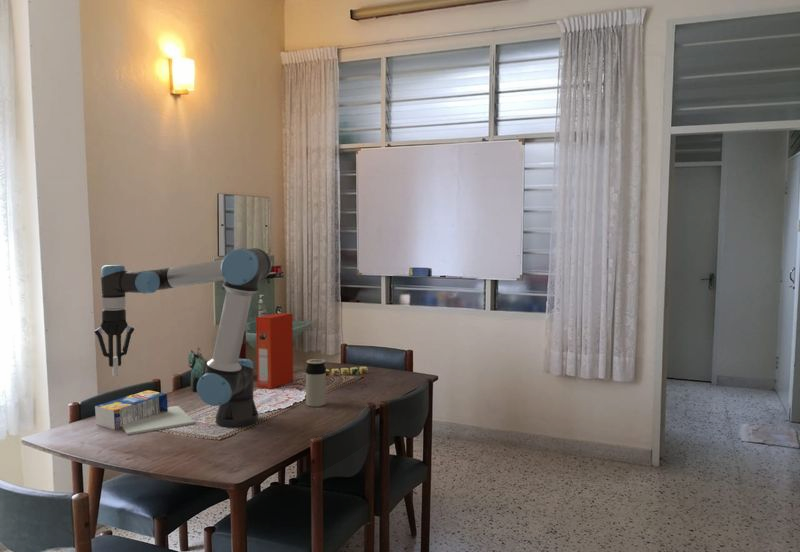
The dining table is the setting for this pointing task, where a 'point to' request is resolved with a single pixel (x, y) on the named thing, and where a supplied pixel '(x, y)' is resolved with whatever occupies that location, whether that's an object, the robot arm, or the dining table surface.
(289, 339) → the file binder
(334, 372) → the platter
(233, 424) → the robot arm
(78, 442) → the dining table surface
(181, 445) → the dining table surface
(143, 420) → the board
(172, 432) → the dining table surface
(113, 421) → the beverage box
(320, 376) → the travel mug
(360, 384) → the dining table surface
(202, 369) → the green animal figurine
